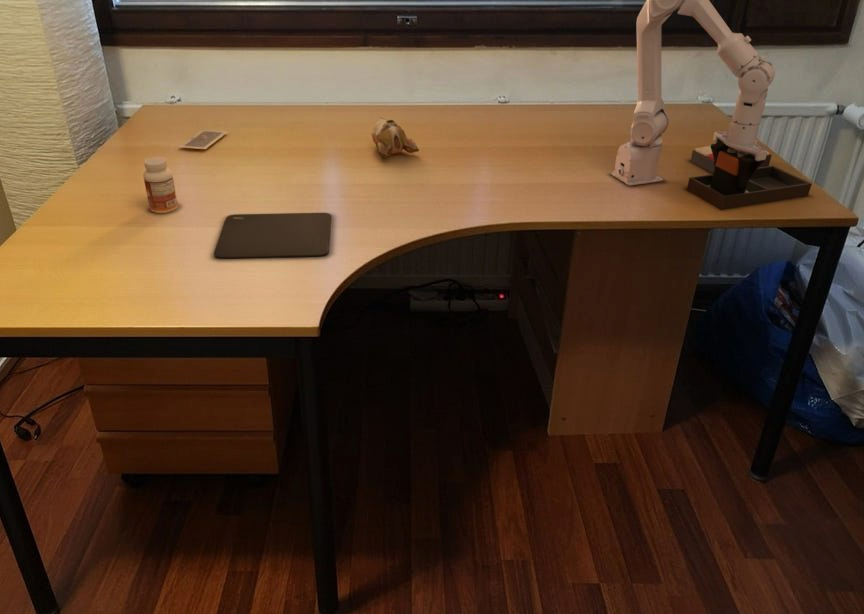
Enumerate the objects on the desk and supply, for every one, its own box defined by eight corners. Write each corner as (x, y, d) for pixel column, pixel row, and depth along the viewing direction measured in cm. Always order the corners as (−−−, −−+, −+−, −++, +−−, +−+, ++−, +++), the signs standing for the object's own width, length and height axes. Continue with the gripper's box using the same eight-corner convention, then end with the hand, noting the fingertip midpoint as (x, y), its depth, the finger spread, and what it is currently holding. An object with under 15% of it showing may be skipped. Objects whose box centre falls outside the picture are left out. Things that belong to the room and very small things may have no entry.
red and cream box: (692, 147, 187) (742, 138, 190) (689, 163, 190) (739, 154, 193) (720, 161, 178) (773, 151, 182) (717, 178, 181) (769, 168, 184)
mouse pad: (331, 213, 163) (331, 212, 163) (328, 256, 146) (328, 254, 146) (227, 215, 163) (227, 214, 163) (212, 258, 146) (212, 257, 146)
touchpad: (229, 135, 209) (228, 127, 208) (206, 153, 197) (204, 145, 195) (203, 133, 210) (202, 125, 209) (179, 150, 198) (177, 142, 197)
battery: (728, 199, 167) (740, 156, 161) (708, 188, 172) (719, 146, 167) (744, 197, 168) (756, 154, 162) (724, 186, 173) (735, 144, 168)
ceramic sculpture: (399, 108, 198) (422, 128, 187) (399, 139, 204) (421, 160, 193) (362, 113, 195) (383, 133, 184) (362, 145, 201) (382, 166, 190)
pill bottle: (152, 203, 169) (143, 156, 163) (179, 202, 170) (171, 155, 163) (147, 214, 164) (138, 166, 158) (176, 213, 164) (167, 165, 158)
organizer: (721, 209, 164) (724, 197, 162) (686, 189, 174) (689, 177, 172) (808, 196, 170) (812, 183, 168) (769, 177, 180) (773, 165, 178)
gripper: (785, 129, 156) (767, 190, 164) (737, 110, 168) (723, 168, 175) (757, 132, 154) (740, 194, 162) (711, 113, 166) (697, 171, 173)
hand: (729, 181), depth 168 cm, fingers closed on battery, 7 cm apart
